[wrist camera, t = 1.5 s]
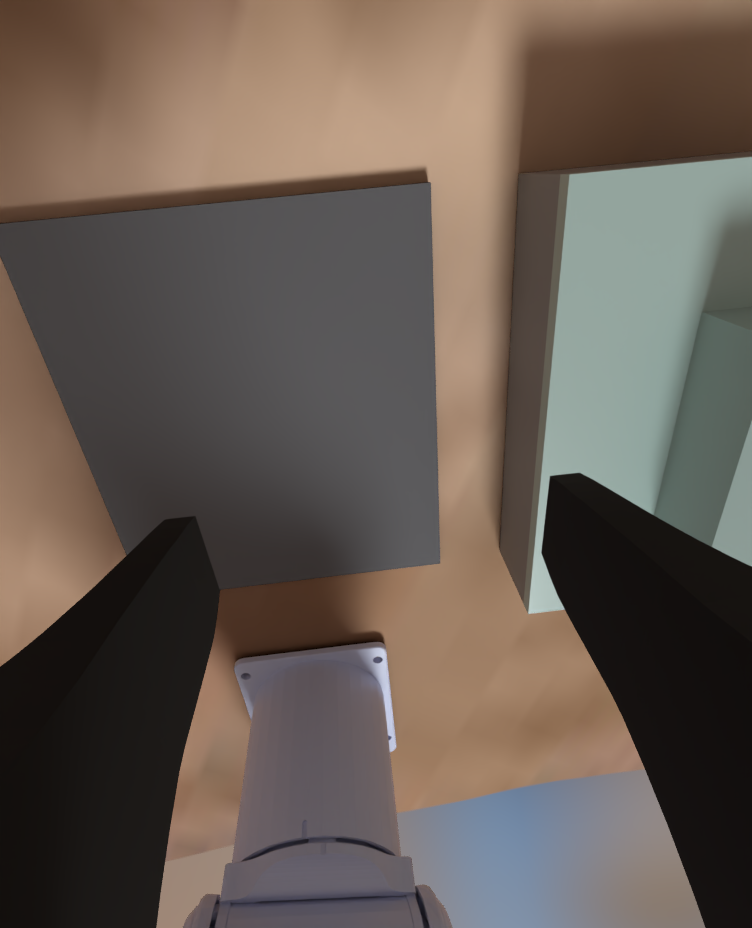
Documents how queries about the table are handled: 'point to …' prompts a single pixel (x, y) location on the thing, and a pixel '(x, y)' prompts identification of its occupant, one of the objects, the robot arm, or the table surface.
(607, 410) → the lid
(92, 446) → the mat
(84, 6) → the table surface
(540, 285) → the storage box
